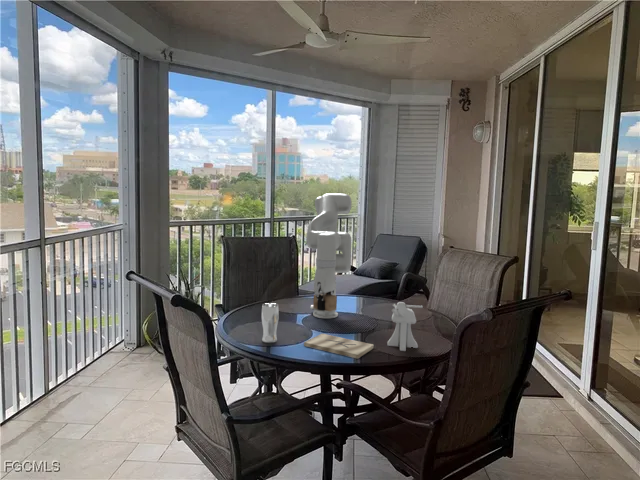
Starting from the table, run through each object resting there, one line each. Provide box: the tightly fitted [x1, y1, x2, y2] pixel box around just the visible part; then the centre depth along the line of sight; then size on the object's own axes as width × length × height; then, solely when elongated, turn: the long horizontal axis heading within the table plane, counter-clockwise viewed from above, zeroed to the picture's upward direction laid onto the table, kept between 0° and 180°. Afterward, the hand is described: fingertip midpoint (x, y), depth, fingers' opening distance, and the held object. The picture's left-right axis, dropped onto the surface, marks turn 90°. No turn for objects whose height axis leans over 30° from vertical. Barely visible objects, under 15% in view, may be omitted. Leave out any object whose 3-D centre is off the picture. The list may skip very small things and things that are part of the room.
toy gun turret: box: [386, 301, 424, 352], centre depth 179 cm, size 12×13×18 cm
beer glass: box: [261, 302, 280, 344], centre depth 181 cm, size 7×7×15 cm
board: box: [303, 333, 375, 359], centre depth 176 cm, size 24×14×2 cm, turn 59°
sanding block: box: [312, 294, 338, 313], centre depth 178 cm, size 8×5×6 cm, turn 59°
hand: (324, 308), depth 178 cm, fingers closed on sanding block, 5 cm apart
